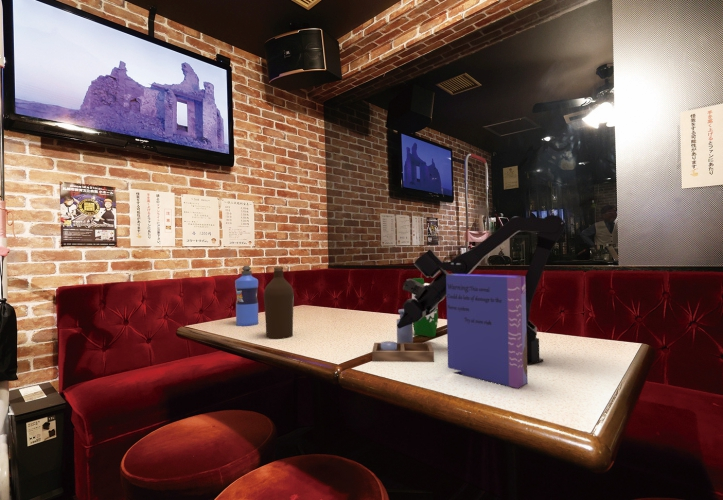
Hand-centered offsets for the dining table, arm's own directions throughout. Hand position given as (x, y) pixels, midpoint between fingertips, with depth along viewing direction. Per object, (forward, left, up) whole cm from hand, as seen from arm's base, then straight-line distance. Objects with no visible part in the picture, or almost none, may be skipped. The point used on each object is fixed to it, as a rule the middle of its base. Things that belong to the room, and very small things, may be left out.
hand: (402, 324), depth 115 cm
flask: (0, 0, -7) cm, 8 cm away
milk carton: (+13, -18, -8) cm, 24 cm away
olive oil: (+40, +27, -8) cm, 48 cm away
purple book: (-31, -1, -8) cm, 32 cm away
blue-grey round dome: (-7, +10, -6) cm, 14 cm away
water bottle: (+71, +32, -8) cm, 78 cm away
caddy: (-9, +7, -7) cm, 14 cm away
